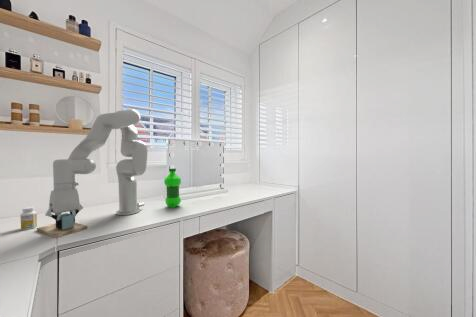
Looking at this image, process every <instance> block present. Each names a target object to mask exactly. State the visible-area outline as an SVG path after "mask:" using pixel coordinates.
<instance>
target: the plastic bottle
mask: <svg viewBox="0 0 476 317" xmlns="http://www.w3.org/2000/svg"><path fill="white" fill-rule="evenodd" d="M176 169H177V168H175V167H172V168H171V167H170V168H168V172H169V173H168V174H167V175H166V177H165V178H164V179H163V180H164V181H163V182H164V185H165V186H166V197H165V200H164V201H165V204H166V206H167V207H169V208H176V207H178V206H179V205H180V203H181V202H182V200H181V196H180V185H181V183H182V181H181V180H182V179H181V178H180V176H178V174H176Z"/></svg>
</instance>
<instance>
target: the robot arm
mask: <svg viewBox="0 0 476 317" xmlns="http://www.w3.org/2000/svg"><path fill="white" fill-rule="evenodd" d="M140 120H141V115H140V113H139V111H137V110H136V109H133V108H132V109H125V110H124V109H123V110H118V111H115V112H108V113H101V114H99V115H98V116H97V117H96V119H94V122H93V124H92V126H91V127H90V130H89V131H88V133H87V135H86V136H85V138H83V139H82V140H81V141H80V142H79V143H78V144H77V145H76V147H75V148H74V149H73V150H72V151H71V153H70V154H69V156H68V158H67V159H66V158H65V159H55V160H53V162H52V178H53V190H50V195H49V202H48V203H49V204H48V210H47V211H46V212H45V214H44V216H46V217H49V218H52V219H54V220H55V224H56V227H57V228H58V229H62V220H61V214H64V213H68V212H69V214H72V215H74V223H76V216H77V215H78V213H79V212H80V211H82V210H83V209H84V207H83V206H82V205H81V203H80V195H79V191H78V189H77V188H76V187H77V186H79V182H76V175H88V174H92V173H93V172H94V171H95V170H96V168H97V164H96V163H95V161H94V160H93V159H90V158H88V157H89V156H90V155H91V154H92V153H93V152H94V151H95V152H96V151H97V150H98V149H100V148H102V147H104V145H106V143H107V140H108V138H109V136H110V134H111V132H112V130H118V129H119V130H120V132H121V140H120V142H121V143H120V154H121V156H123V157H125V159H122V160H119V161H118V162H117V164H116V168H115V169H116V174H117V178H118V180H117V181H118V210H117V211H116V215H118V216H127V215H128V216H129V215H135V214H136V213H140V211H141V207H144V206H145V203H144V202H142V203H138V192H137V190H138V186H137V185H138V184H137V183H138V182H137V179H136V176H137V177H140V176H143V175H144V173H146V170H147V162H148V153H149V152H148V146H147V145H146V143H145V142H144V141H142V140H138V135H139V134H138V130H137V128H136V127H135V126H134V125H137V124H138V123H139V122H140ZM126 158H129V159H126Z"/></svg>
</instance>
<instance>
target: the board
mask: <svg viewBox="0 0 476 317" xmlns="http://www.w3.org/2000/svg"><path fill="white" fill-rule="evenodd" d="M86 229H88V226H87V225H85V224H82V223H78V222H75V223H74V228H72V229H68V230H65V231H62V230H60V229H57V228H56V223H53V224H48V225H45V226H41V227H40V226H39V227H36V232H39V233H42V234H44V235H47V236H50V237H53V238H60V237H63V236H66V235H69V234H73V233H76V232H79V231H83V230H86Z"/></svg>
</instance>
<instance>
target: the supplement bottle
mask: <svg viewBox="0 0 476 317" xmlns="http://www.w3.org/2000/svg"><path fill="white" fill-rule="evenodd" d="M37 215H38V214H37V211H35V206H27V207H23V208H22V213H20V229H21V230H22V231H25V230H26V231H27V230H32V229H34V228H38V221H37V220H38V219H37V218H38V216H37Z"/></svg>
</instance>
